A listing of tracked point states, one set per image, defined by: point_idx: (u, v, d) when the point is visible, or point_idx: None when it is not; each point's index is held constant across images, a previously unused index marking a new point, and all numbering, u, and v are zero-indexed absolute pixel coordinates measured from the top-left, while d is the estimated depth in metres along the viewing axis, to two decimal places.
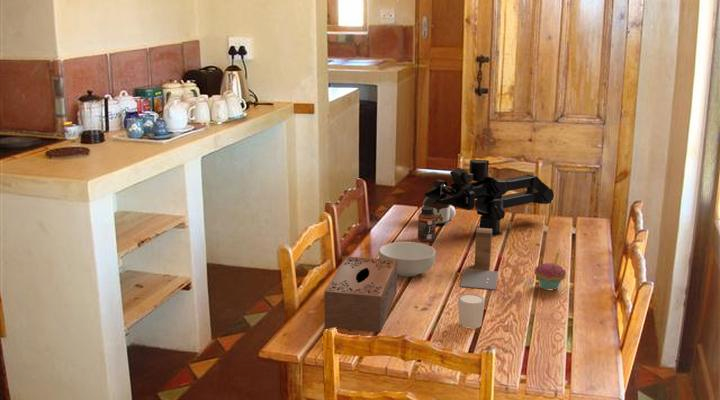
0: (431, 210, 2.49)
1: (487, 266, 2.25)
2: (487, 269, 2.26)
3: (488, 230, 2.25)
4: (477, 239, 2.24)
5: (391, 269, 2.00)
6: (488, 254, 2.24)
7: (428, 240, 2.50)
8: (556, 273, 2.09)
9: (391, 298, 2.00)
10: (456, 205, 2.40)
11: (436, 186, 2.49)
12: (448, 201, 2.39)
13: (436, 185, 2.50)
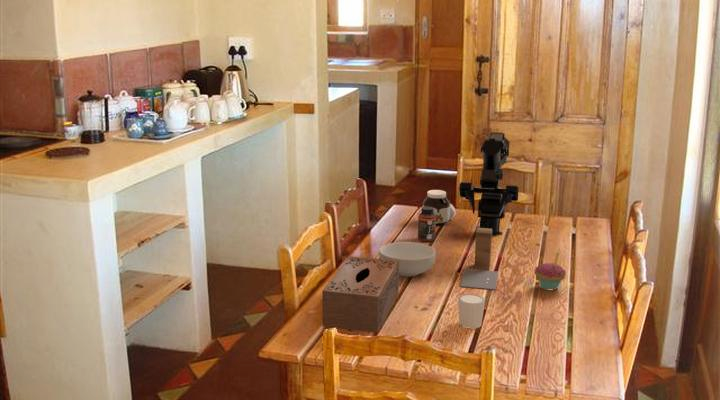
0: (431, 210, 2.49)
1: (487, 266, 2.25)
2: (487, 269, 2.26)
3: (488, 230, 2.25)
4: (477, 239, 2.24)
5: (392, 269, 1.99)
6: (488, 254, 2.24)
7: (428, 240, 2.50)
8: (556, 273, 2.09)
9: (391, 298, 2.00)
10: (505, 205, 2.38)
11: (471, 195, 2.37)
12: (501, 210, 2.35)
13: (470, 193, 2.37)
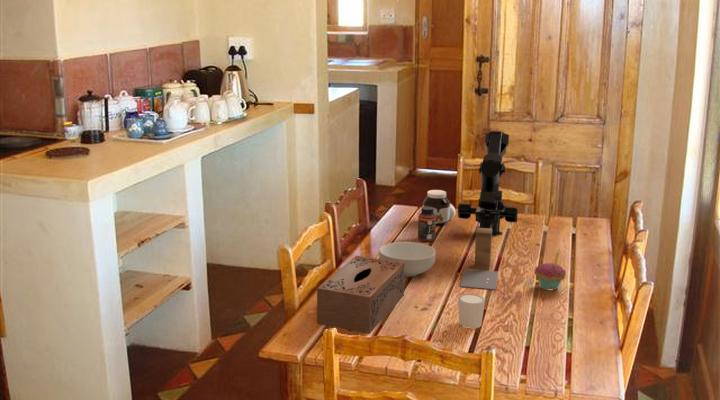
0: (431, 210, 2.49)
1: (487, 266, 2.25)
2: (487, 269, 2.26)
3: (488, 230, 2.25)
4: (477, 239, 2.24)
5: (394, 271, 1.98)
6: (488, 254, 2.24)
7: (428, 240, 2.50)
8: (556, 273, 2.09)
9: (392, 300, 1.98)
10: (492, 226, 2.36)
11: (482, 217, 2.34)
12: None
13: (481, 216, 2.34)
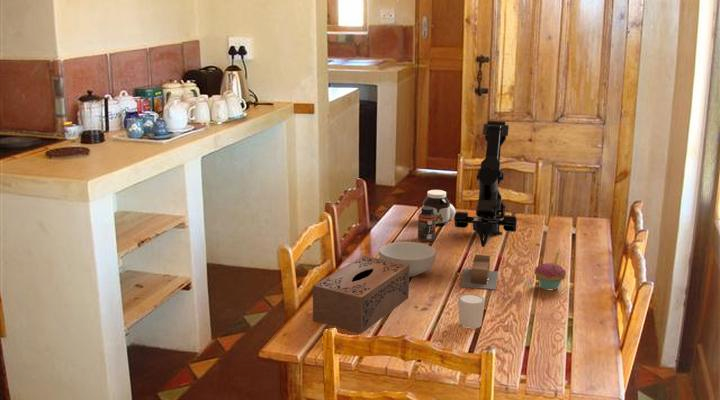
0: (431, 210, 2.49)
1: None
2: None
3: (483, 276, 2.14)
4: None
5: (395, 273, 1.97)
6: None
7: (428, 240, 2.50)
8: (556, 273, 2.09)
9: (392, 302, 1.97)
10: (490, 235, 2.27)
11: (480, 226, 2.25)
12: (486, 241, 2.25)
13: (479, 225, 2.25)
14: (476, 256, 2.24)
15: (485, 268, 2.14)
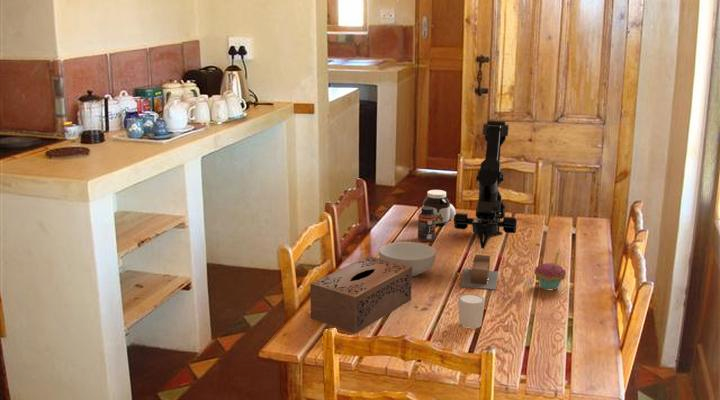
0: (431, 210, 2.49)
1: None
2: None
3: (483, 276, 2.14)
4: None
5: (395, 274, 1.96)
6: None
7: (428, 240, 2.50)
8: (556, 273, 2.09)
9: (392, 303, 1.97)
10: (490, 237, 2.26)
11: (479, 228, 2.24)
12: (486, 243, 2.24)
13: (478, 227, 2.24)
14: (476, 256, 2.24)
15: (485, 268, 2.14)
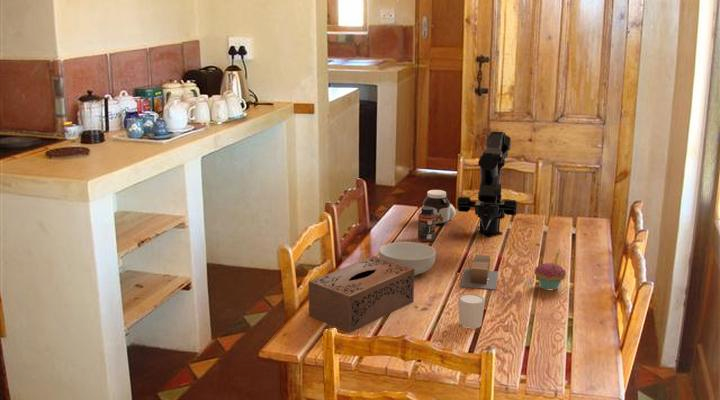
0: (431, 210, 2.49)
1: None
2: None
3: (483, 276, 2.14)
4: None
5: (396, 275, 1.95)
6: None
7: (428, 240, 2.50)
8: (556, 273, 2.09)
9: (392, 304, 1.96)
10: (491, 219, 2.37)
11: (482, 210, 2.35)
12: (488, 224, 2.35)
13: (481, 209, 2.35)
14: (476, 256, 2.24)
15: (485, 268, 2.14)
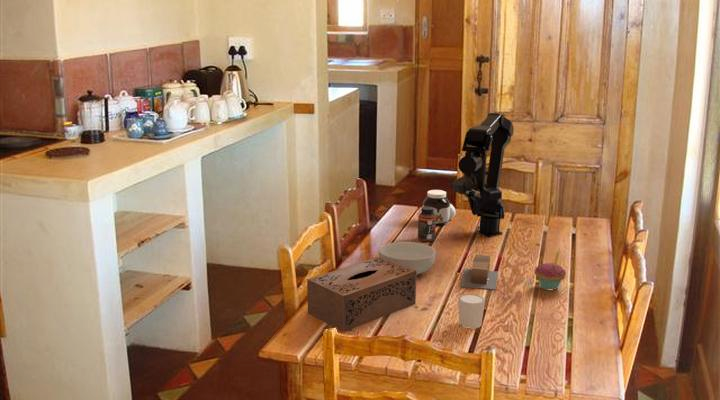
0: (431, 210, 2.49)
1: None
2: None
3: (483, 276, 2.14)
4: None
5: (395, 276, 1.95)
6: None
7: (428, 240, 2.50)
8: (556, 273, 2.09)
9: (391, 306, 1.95)
10: (483, 201, 2.39)
11: (468, 197, 2.39)
12: (477, 209, 2.39)
13: (467, 197, 2.39)
14: (476, 256, 2.24)
15: (485, 268, 2.14)
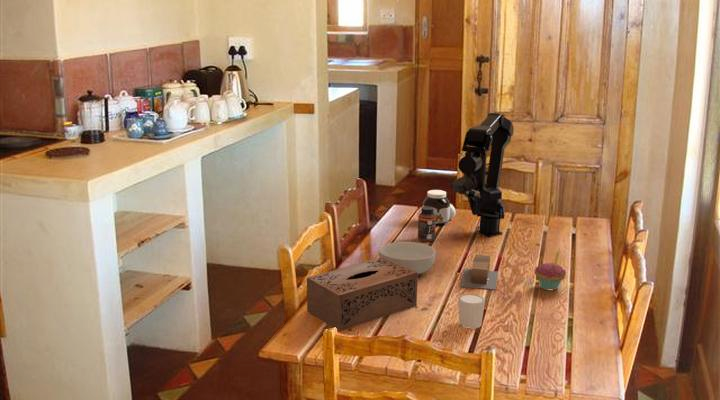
0: (431, 210, 2.49)
1: None
2: None
3: (483, 276, 2.14)
4: None
5: (395, 278, 1.94)
6: None
7: (428, 240, 2.50)
8: (556, 273, 2.09)
9: (390, 307, 1.94)
10: (483, 201, 2.39)
11: (468, 198, 2.39)
12: (477, 209, 2.39)
13: (467, 197, 2.39)
14: (476, 256, 2.24)
15: (485, 268, 2.14)
